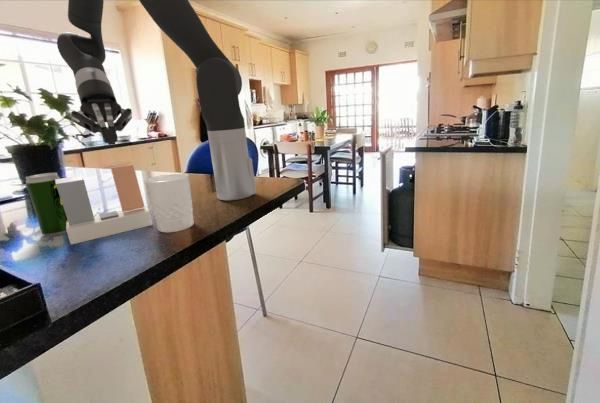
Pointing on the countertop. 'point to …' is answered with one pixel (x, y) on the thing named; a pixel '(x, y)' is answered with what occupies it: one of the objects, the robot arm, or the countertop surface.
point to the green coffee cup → (47, 204)
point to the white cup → (171, 201)
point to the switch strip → (108, 225)
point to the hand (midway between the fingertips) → (111, 142)
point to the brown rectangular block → (127, 188)
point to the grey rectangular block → (75, 199)
